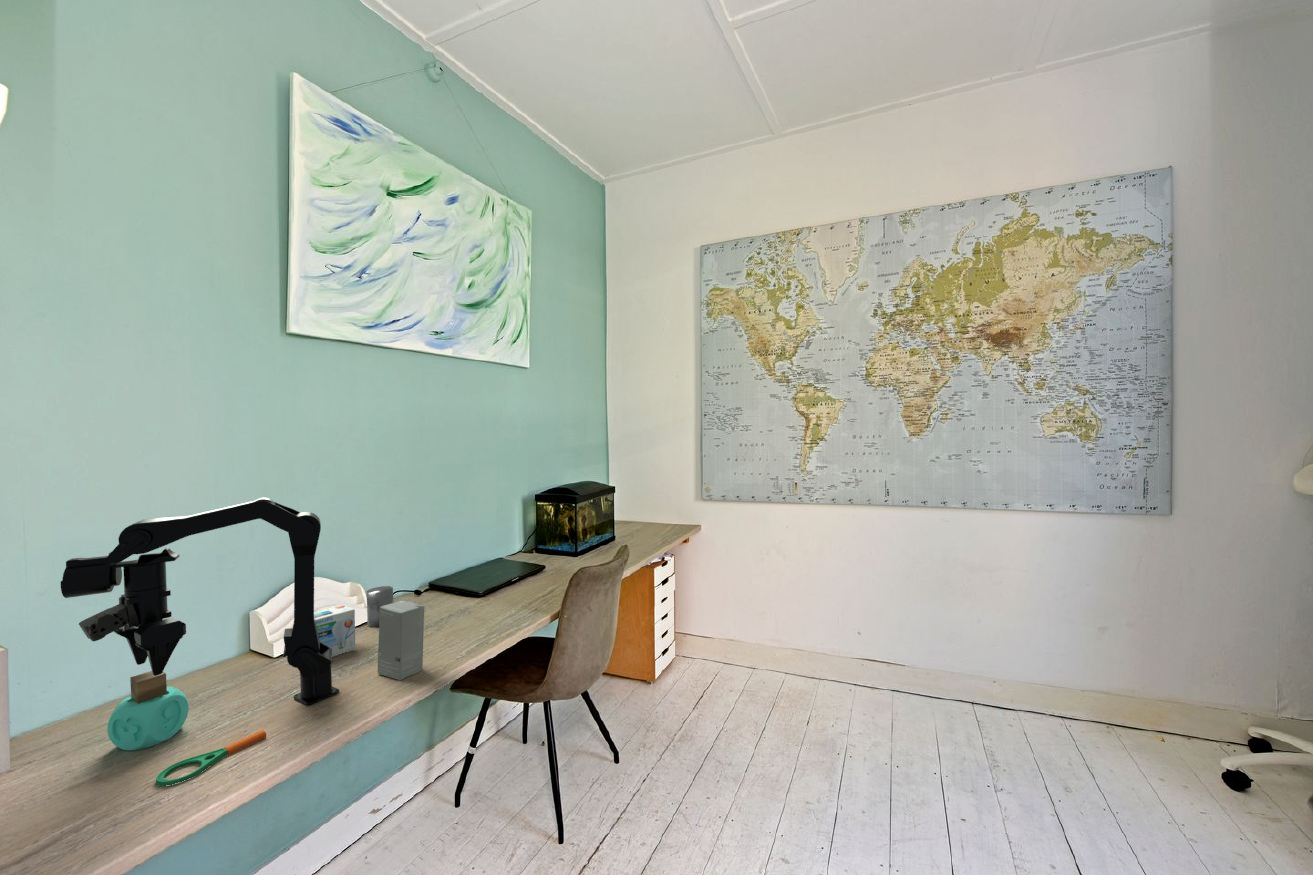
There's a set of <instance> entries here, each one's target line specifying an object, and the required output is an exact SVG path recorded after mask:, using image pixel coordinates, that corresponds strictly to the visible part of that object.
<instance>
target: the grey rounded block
mask: <svg viewBox="0 0 1313 875" xmlns="http://www.w3.org/2000/svg"><path fill="white" fill-rule="evenodd" d="M392 603H394V587H393V586H390V585H387V586H386V585H385V586H376V587H372V588H369V589H367V590H366V613H367V614H366V617H367V619H366V620H367V621H366V622H367V627H369V628H379V619H380V607H382V606H384V605H388V604H392Z"/></svg>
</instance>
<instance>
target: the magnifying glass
mask: <svg viewBox="0 0 1313 875" xmlns="http://www.w3.org/2000/svg"><path fill="white" fill-rule="evenodd" d="M266 737H267V732H266V731H265V730H264V729H261V730H258V731H256V732H255V733H253V734H250V735H248V736H245V737H243V738H241V739H240V740H237V741H234V742H233V743H231V744H229V745H228V744H227V745H226V746H225V747H221V748H219V749H215V750H212V751H209V752H206V753H201V754H198V755H196V756H192V757H189V758H185V759H182V760H180V761H177V762H175V763H173V764H171V765H170V766H168V767H166V768H164V769H163V770H162V771H160V772H159V774H158V775H156V778H155V784H156V785H157V786H158V785H159V786H158V787H162V786H164V787H167V786H166V785H171V786H173V785H172V784H175V783H178V782H182V781H184V780H187V779H189V778H192V777H194V776H196V777H198V776H199V775H201V774H202V773H203V772H202V771H204V770H205V769H206V770H208V769H209V768H210V767H209V766H211V767H213V764H214V765H215V764H217V763H218V762H220V761H221V760H222V759H223V757H224V758H225V756H226V757H227V755H228V756H231V755H232V754H234V753H236V752H238V751H240V750H243V749H245V748H247V747H249V746H251V745H253V744H255V743H257V742H260V741H261V740H264V739H265V738H266ZM191 765H199V767H198V768H197V769H195V770H194V771H192V772H191V773H188V774H186V775H183V776H181V777H177V778H173V779H172V778H171V779H167V778H166V777H167V776H168V775H169V774H171V773H173V772H174V770H175V771H176V769H177V770H179V769H181V768H184V767H187V766H191ZM180 767H181V768H180ZM208 767H209V768H208ZM178 768H179V769H178ZM207 768H208V769H207ZM206 770H205V771H206ZM172 771H173V772H172ZM205 771H204V772H205ZM201 772H202V773H201ZM200 773H201V774H200ZM198 774H199V775H198ZM164 778H165V779H164ZM194 778H195V777H194ZM192 779H193V778H192ZM189 780H190V779H189ZM187 781H188V780H187ZM182 783H183V782H182ZM175 785H176V784H175Z"/></svg>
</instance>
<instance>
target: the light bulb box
mask: <svg viewBox="0 0 1313 875" xmlns="http://www.w3.org/2000/svg"><path fill="white" fill-rule="evenodd" d="M355 617H356V612H355V609H354V608H352V607H350V606H348V605H346V604H342V605H338V606H334V607H331V608H330V607H329V608H326V609H323V610H319V611H314V618H315V622H316V626H317V631H318V635H319V641H320V642H321V643H323V644H324V645H326V646H328V647H329V648H331V658H332V657H336V656H339V654H340V655H342V653H343V654H345V652H346V653H348V652H352V651H355V650H356V619H355Z"/></svg>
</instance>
